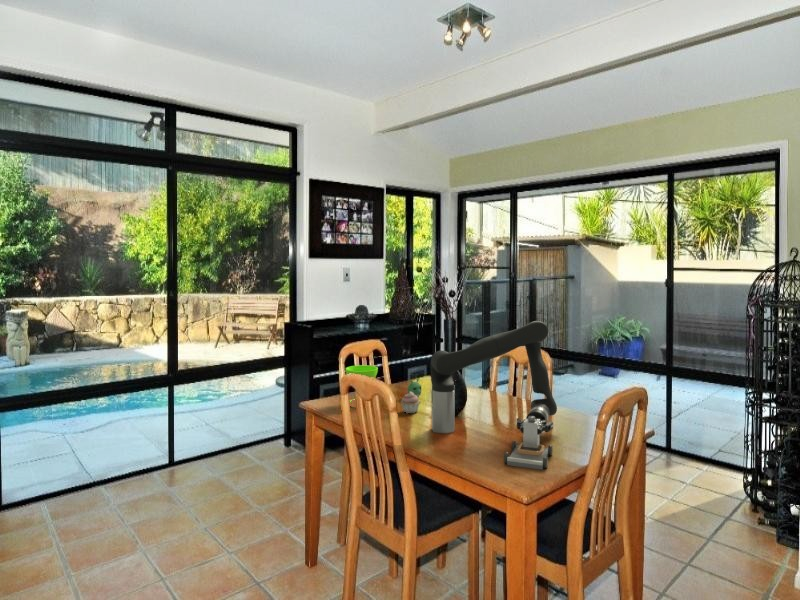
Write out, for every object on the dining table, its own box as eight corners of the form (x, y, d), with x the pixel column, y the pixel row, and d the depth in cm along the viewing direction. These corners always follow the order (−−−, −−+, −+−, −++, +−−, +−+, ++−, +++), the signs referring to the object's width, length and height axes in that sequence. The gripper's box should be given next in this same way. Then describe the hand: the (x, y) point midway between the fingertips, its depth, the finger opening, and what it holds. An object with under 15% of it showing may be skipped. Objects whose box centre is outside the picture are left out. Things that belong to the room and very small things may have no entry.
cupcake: (405, 408, 266) (405, 388, 265) (423, 410, 261) (423, 390, 261) (397, 413, 257) (396, 392, 257) (415, 415, 253) (415, 394, 252)
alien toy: (414, 400, 280) (414, 381, 280) (405, 397, 286) (404, 378, 286) (424, 398, 284) (424, 379, 284) (415, 395, 291) (415, 377, 290)
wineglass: (374, 409, 265) (374, 372, 264) (342, 407, 268) (341, 371, 266) (381, 400, 281) (380, 365, 280) (350, 399, 283) (350, 364, 282)
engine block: (537, 448, 198) (537, 419, 197) (523, 446, 200) (523, 418, 199) (539, 443, 203) (539, 415, 202) (525, 442, 205) (525, 414, 204)
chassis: (546, 470, 186) (546, 459, 186) (503, 464, 192) (503, 454, 192) (552, 453, 203) (552, 443, 203) (513, 448, 208) (513, 438, 208)
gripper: (518, 407, 217) (510, 418, 201) (556, 410, 211) (551, 422, 195) (518, 425, 217) (510, 439, 202) (556, 429, 212) (550, 443, 196)
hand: (530, 431), depth 199 cm, fingers closed on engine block, 5 cm apart
